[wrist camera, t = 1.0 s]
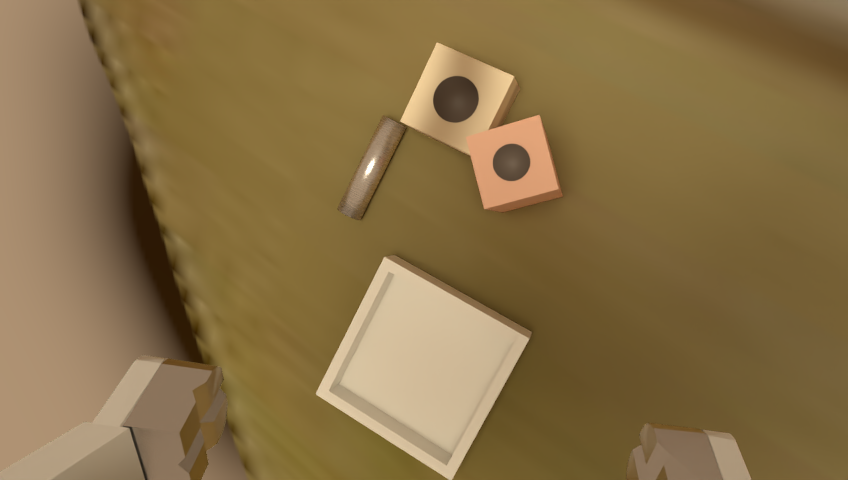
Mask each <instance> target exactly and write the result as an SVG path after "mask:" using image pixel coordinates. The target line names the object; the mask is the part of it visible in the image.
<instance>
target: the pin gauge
mask: <svg viewBox="0 0 848 480" xmlns="http://www.w3.org/2000/svg"><path fill="white" fill-rule="evenodd" d="M405 129H406V127H405V126H403V125H401V124H399V123H397V122H395V121H393V120H391V119H389V118H387V117H385V116H382V118H381V120H380V122H379V124H378V126H377V128H376V130H375V132H374V134H373V136H372V138H371V141H370V143H369V145H368V147H367V149H366V151H365V153H364V155H363V157H362V159H361V161H360V163H359V165H358V167H357V169H356V171H355V173H354V175H353V177H352V179H351V181H350V184H349V186H348V188H347V190H346V192H345V194H344V196H343V198H342V200H341V202H340V204H339V206H338V208H337V209H338V210H339V211H340V212H342V213H343V214H345V215H347V216H349V217H351V218H354V219H357V220H361V218H362V216H363V214H364V212H365V210H366V208H367V206H368V204H369V202H370V199H371V197H372V195H373V193H374V191H375V189H376V187H377V185H378V183H379V181H380V179H381V177H382V175H383V173H384V171H385V169H386V167H387V165H388V163H389V161H390V159H391V157H392V155H393V153H394V151H395V149H396V147H397V145H398V143H399V141H400V139H401V137H402V135H403V133H404V131H405Z"/></svg>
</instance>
